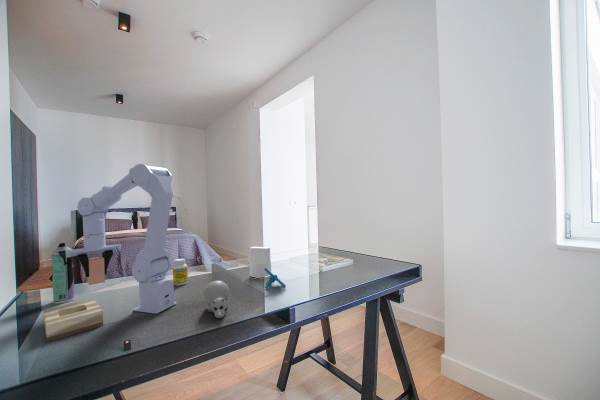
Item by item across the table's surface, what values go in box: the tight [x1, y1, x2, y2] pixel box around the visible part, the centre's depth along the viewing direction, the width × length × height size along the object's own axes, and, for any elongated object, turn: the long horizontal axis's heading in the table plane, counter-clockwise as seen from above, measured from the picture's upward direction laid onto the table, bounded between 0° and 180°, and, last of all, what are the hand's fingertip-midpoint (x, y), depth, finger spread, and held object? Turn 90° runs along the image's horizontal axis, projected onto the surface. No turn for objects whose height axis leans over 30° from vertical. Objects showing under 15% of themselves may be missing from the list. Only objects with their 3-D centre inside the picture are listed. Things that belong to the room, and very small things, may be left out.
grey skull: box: [203, 280, 230, 319], centre depth 77 cm, size 7×12×8 cm, turn 20°
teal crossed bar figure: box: [264, 268, 286, 290], centre depth 97 cm, size 11×6×10 cm
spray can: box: [51, 242, 75, 305], centre depth 92 cm, size 6×6×20 cm
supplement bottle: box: [172, 258, 189, 286], centre depth 107 cm, size 5×5×10 cm
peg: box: [87, 256, 106, 286], centre depth 88 cm, size 4×4×8 cm
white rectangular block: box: [249, 246, 272, 277], centre depth 114 cm, size 9×9×12 cm
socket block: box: [42, 298, 104, 342], centre depth 73 cm, size 14×11×4 cm
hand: (96, 275), depth 88 cm, fingers closed on peg, 4 cm apart
